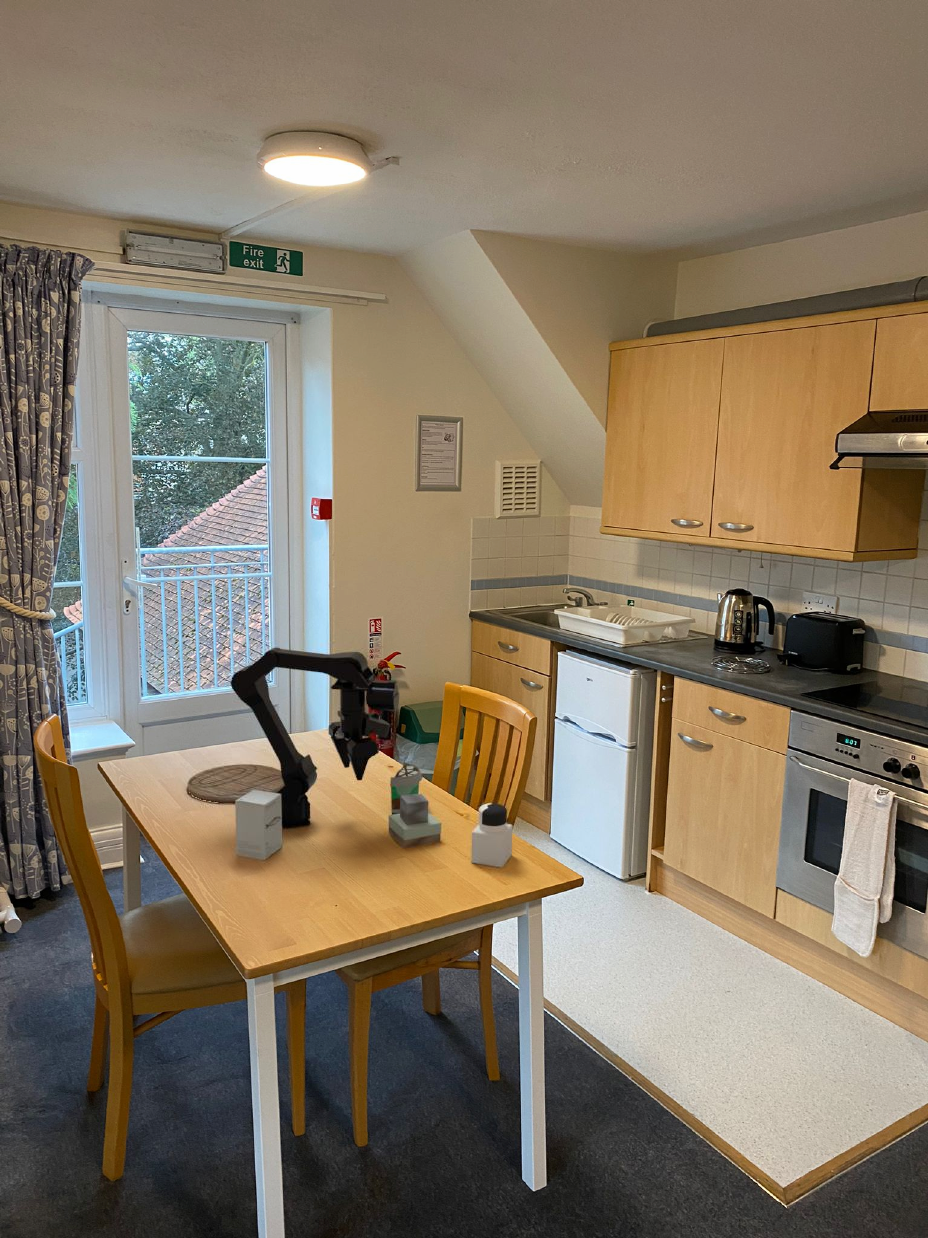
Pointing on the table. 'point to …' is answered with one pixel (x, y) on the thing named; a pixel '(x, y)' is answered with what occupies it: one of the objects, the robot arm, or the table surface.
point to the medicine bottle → (492, 836)
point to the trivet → (234, 782)
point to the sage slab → (414, 827)
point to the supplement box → (258, 824)
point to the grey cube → (414, 809)
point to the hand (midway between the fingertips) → (353, 773)
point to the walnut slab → (414, 841)
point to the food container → (404, 784)
